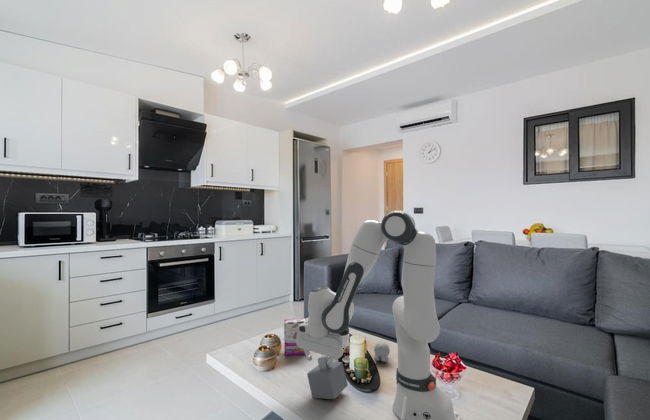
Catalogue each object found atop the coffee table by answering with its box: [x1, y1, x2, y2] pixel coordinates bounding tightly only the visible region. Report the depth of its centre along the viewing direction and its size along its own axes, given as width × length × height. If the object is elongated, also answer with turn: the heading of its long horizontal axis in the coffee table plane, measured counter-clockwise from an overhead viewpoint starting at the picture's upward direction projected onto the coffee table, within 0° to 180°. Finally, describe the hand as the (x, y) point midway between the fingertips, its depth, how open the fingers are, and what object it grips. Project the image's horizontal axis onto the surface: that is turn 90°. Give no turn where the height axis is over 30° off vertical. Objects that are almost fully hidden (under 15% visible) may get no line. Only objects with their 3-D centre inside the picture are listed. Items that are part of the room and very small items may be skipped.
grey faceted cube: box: [306, 355, 348, 400], centre depth 119 cm, size 10×10×13 cm
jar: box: [339, 326, 350, 348], centre depth 154 cm, size 9×8×12 cm
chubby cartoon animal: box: [373, 341, 391, 363], centre depth 146 cm, size 7×12×8 cm, turn 155°
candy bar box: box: [283, 318, 307, 357], centre depth 152 cm, size 11×5×16 cm, turn 97°
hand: (319, 363), depth 120 cm, fingers open, 8 cm apart
